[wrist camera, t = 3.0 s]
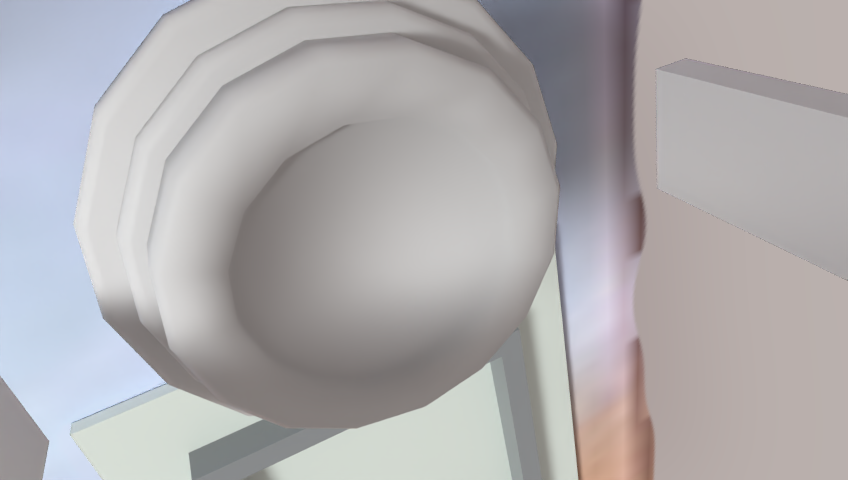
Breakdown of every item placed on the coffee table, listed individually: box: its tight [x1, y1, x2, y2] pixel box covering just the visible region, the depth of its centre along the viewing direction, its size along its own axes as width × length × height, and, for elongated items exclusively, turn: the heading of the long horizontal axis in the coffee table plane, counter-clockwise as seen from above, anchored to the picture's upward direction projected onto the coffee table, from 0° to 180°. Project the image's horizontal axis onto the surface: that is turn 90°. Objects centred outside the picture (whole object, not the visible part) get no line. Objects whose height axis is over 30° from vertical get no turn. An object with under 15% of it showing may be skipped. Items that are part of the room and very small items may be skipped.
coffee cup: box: [73, 0, 560, 429], centre depth 15 cm, size 9×9×12 cm
